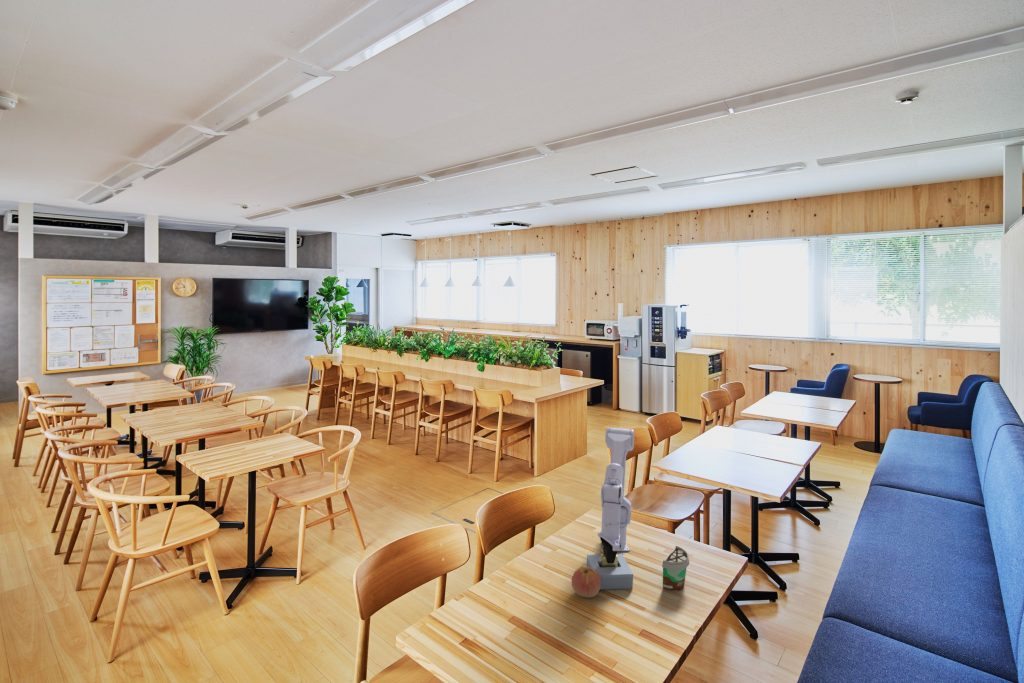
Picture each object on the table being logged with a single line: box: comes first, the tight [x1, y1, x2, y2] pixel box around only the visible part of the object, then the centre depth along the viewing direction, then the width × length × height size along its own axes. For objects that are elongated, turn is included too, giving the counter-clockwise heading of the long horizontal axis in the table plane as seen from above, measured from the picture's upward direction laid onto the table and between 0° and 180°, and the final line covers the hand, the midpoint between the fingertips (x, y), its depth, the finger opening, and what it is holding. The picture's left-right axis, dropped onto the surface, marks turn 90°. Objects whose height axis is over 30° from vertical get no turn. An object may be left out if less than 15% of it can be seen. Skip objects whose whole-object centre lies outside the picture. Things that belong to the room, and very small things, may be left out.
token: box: [600, 552, 618, 568], centre depth 168 cm, size 2×5×5 cm, turn 95°
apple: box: [571, 566, 601, 599], centre depth 159 cm, size 9×9×8 cm
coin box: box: [586, 553, 634, 591], centre depth 168 cm, size 12×12×5 cm
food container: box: [661, 545, 690, 592], centre depth 165 cm, size 12×6×10 cm, turn 143°
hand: (609, 560), depth 168 cm, fingers closed on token, 2 cm apart
